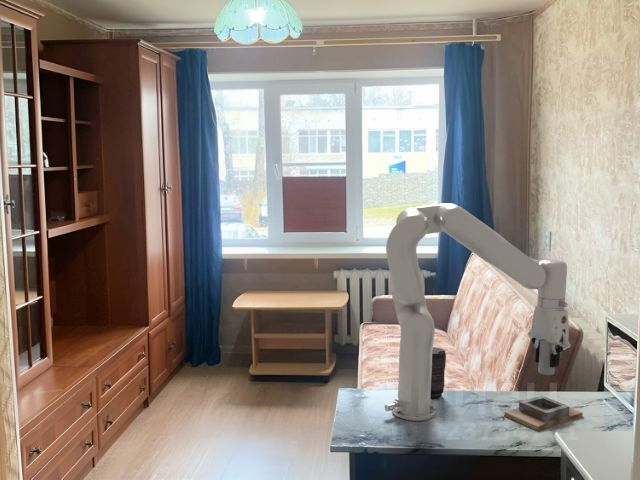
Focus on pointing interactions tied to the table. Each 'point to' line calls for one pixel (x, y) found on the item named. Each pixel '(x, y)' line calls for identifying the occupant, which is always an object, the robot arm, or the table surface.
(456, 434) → the table surface
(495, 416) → the table surface
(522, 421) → the socket board
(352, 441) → the table surface
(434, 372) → the camera lens
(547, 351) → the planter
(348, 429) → the table surface
